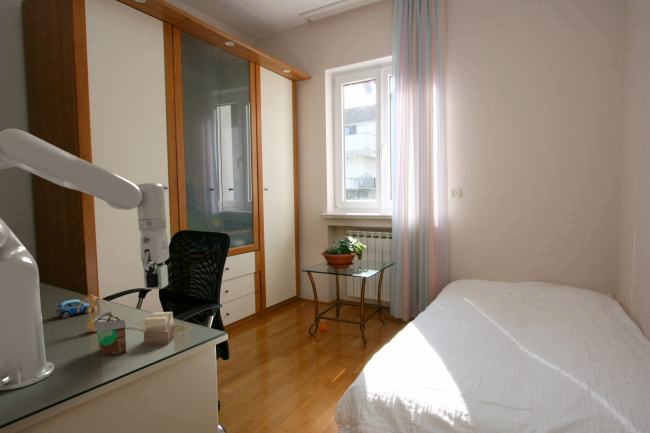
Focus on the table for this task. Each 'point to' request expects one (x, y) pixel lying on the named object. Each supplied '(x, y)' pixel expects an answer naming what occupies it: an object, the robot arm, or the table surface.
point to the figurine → (91, 301)
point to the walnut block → (160, 336)
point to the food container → (110, 334)
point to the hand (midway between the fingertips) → (156, 284)
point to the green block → (159, 277)
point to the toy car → (71, 308)
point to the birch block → (159, 322)
